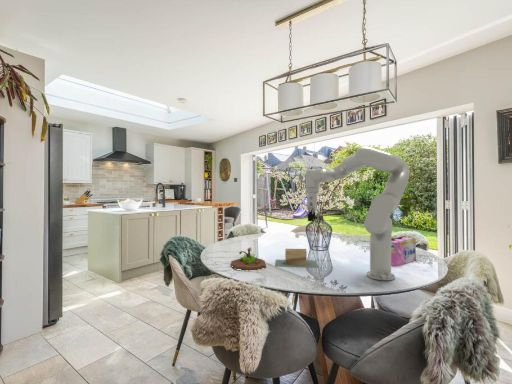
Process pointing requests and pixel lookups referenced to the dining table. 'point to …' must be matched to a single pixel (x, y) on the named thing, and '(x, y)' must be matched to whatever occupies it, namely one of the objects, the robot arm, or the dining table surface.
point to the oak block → (296, 256)
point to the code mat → (309, 265)
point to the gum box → (402, 250)
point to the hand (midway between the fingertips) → (311, 220)
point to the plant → (248, 262)
